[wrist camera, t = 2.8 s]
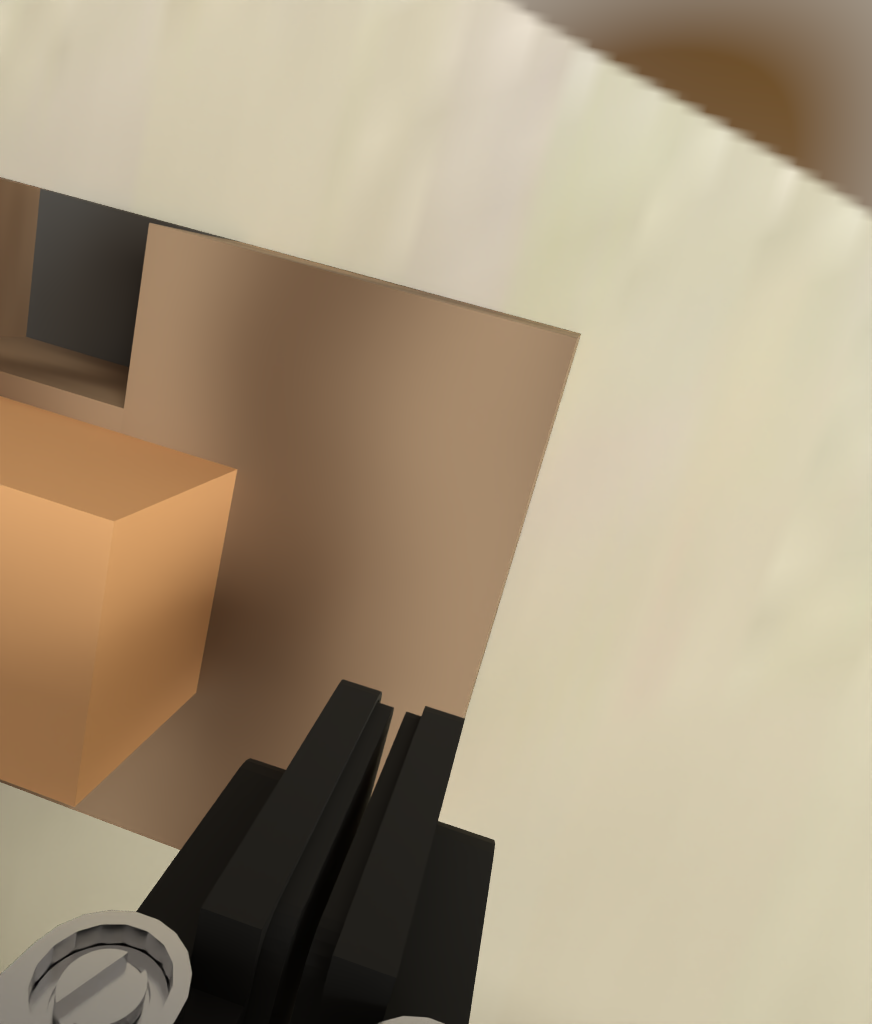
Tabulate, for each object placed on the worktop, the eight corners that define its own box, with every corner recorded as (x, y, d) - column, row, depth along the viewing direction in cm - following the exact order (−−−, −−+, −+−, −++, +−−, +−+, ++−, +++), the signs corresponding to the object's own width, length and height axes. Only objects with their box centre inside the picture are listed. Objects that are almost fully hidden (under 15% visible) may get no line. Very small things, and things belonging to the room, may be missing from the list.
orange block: (237, 469, 15) (114, 521, 11) (195, 692, 16) (75, 807, 12) (-36, 385, 16) (-240, 406, 12) (-52, 605, 17) (-239, 688, 13)
